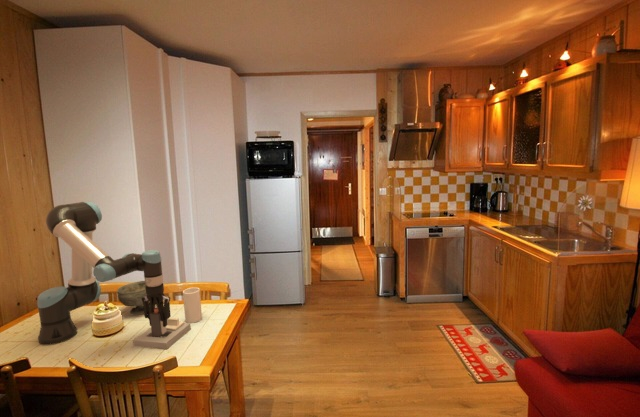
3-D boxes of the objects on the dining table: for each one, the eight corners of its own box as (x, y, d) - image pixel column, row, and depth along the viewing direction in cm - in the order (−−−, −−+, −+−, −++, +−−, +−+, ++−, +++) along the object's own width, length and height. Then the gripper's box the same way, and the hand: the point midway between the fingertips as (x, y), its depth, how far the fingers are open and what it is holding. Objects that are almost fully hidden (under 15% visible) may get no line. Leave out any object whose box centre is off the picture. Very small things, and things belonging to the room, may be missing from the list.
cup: (196, 323, 181) (194, 293, 178) (182, 322, 182) (179, 292, 180) (204, 316, 189) (202, 287, 186) (191, 315, 190) (188, 287, 188)
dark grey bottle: (152, 336, 163) (149, 310, 161) (158, 332, 167) (155, 306, 165) (160, 337, 162) (157, 310, 160) (166, 332, 166) (164, 306, 164)
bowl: (134, 303, 209) (131, 279, 207) (165, 304, 206) (162, 279, 204) (110, 318, 190) (107, 291, 188) (143, 319, 187) (140, 292, 185)
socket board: (133, 346, 160) (132, 340, 160) (160, 326, 178) (159, 321, 178) (166, 349, 157) (166, 343, 156) (190, 329, 175) (190, 323, 174)
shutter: (153, 328, 169) (152, 321, 169) (163, 321, 177) (162, 314, 176) (175, 330, 167) (174, 322, 166) (184, 323, 174) (183, 315, 174)
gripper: (131, 286, 159) (137, 335, 163) (166, 288, 156) (171, 337, 159) (143, 280, 167) (148, 327, 170) (176, 282, 163) (180, 329, 166)
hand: (159, 332), depth 165 cm, fingers closed on dark grey bottle, 4 cm apart
